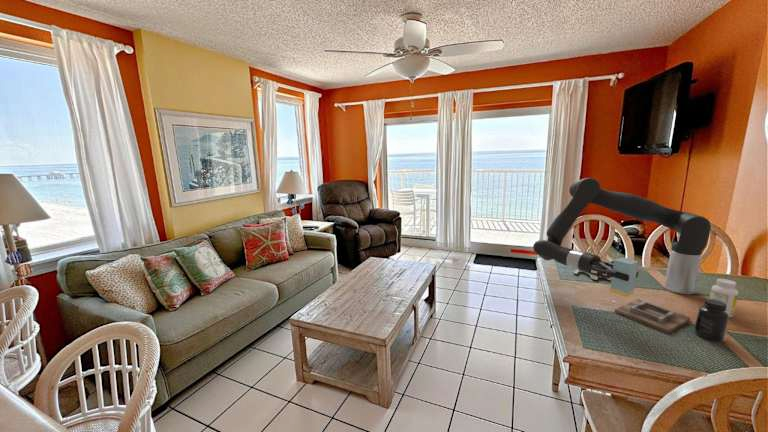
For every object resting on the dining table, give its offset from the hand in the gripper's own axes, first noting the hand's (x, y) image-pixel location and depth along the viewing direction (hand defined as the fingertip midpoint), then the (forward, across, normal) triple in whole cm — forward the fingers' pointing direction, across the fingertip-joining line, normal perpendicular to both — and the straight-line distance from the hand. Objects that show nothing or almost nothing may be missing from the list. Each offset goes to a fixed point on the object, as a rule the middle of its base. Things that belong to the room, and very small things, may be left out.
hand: (632, 276), depth 105 cm
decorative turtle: (-30, +33, +18) cm, 48 cm away
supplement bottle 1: (+13, +36, +18) cm, 42 cm away
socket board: (+2, +12, +18) cm, 22 cm away
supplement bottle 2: (+17, +14, +18) cm, 29 cm away
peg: (-3, 0, +7) cm, 7 cm away
